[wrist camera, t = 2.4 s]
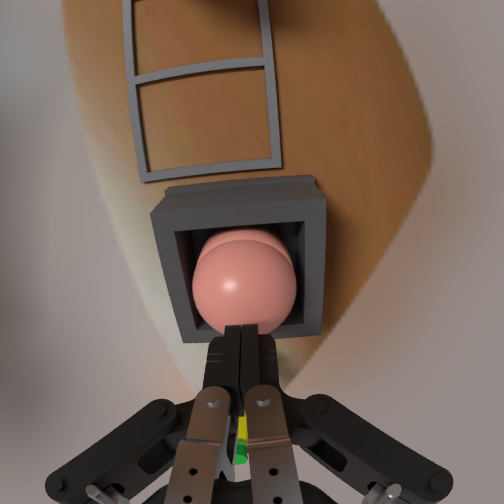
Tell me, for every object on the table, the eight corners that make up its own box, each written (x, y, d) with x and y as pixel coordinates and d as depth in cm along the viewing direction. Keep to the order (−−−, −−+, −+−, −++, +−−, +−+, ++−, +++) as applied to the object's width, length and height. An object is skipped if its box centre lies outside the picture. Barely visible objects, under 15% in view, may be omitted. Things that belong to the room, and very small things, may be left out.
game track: (127, -65, 10) (125, -66, 10) (254, -88, 10) (254, -90, 10) (142, 181, 20) (140, 182, 20) (281, 166, 20) (281, 167, 19)
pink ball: (193, 223, 19) (172, 272, 13) (288, 216, 19) (304, 262, 13) (207, 301, 21) (196, 361, 16) (290, 295, 21) (302, 355, 16)
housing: (168, 187, 20) (145, 210, 16) (312, 174, 20) (329, 194, 15) (191, 303, 25) (181, 345, 20) (311, 295, 24) (323, 336, 20)
